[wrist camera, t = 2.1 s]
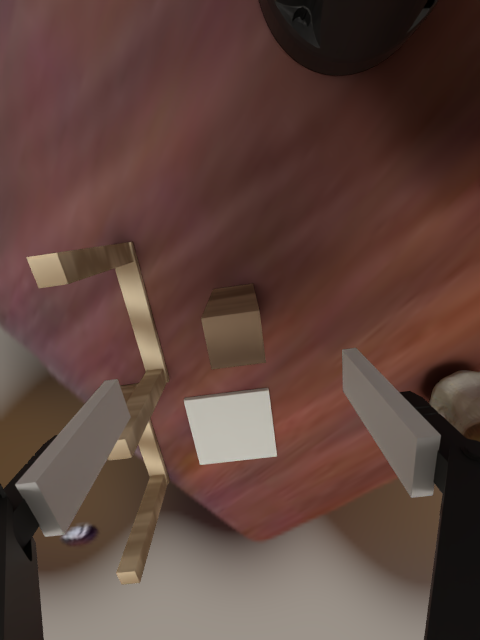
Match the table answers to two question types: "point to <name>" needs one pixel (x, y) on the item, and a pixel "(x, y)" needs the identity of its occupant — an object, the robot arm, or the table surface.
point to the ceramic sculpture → (459, 402)
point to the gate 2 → (144, 505)
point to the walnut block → (233, 327)
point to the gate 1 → (125, 262)
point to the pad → (232, 426)
